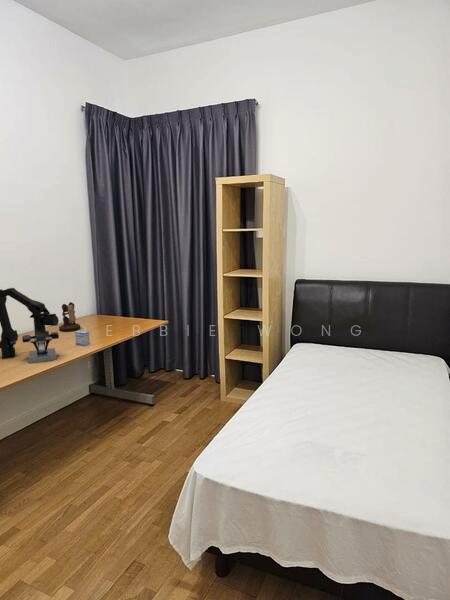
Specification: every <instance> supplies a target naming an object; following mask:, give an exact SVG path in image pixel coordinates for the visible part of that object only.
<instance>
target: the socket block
mask: <svg viewBox="0 0 450 600" xmlns="http://www.w3.org/2000/svg"><path fill="white" fill-rule="evenodd" d="M56 360H57V353H56V348H55V347H52V348H47V351H46V354H41V355H39V354H38V352H37V350H36V349H35V350H30V351H28V364H35V363H42V362H50V361H56Z"/></svg>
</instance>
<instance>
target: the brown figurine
mask: <svg viewBox="0 0 450 600" xmlns="http://www.w3.org/2000/svg"><path fill="white" fill-rule="evenodd" d="M75 306H76V305H75V303H73V302H71V301H70V302H68V305H67V303H63V304H62V305H61V309H62V316H63V317H62V322H63V324H61V325H59V327H58V329H59V331H69V332H71V331H72V330H77V329H79V328H80V329H81V324H79V323H77V322H76V319H77V318H76V315H75V313H76V310H75ZM67 315H68V316H67Z"/></svg>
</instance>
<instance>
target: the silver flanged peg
mask: <svg viewBox="0 0 450 600" xmlns="http://www.w3.org/2000/svg"><path fill="white" fill-rule="evenodd" d="M36 342H37V346H38V354H39V355H41V354H46V340H44V341H43V340H42V341H36Z"/></svg>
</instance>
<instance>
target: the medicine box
mask: <svg viewBox="0 0 450 600" xmlns="http://www.w3.org/2000/svg"><path fill="white" fill-rule="evenodd" d="M74 337H75V340H74V341H75V346H79V347H81V346H82V347H87V346H89V345H91V341H90V332H89V331H86V330H85V331H84V330H77V331H74Z"/></svg>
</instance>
